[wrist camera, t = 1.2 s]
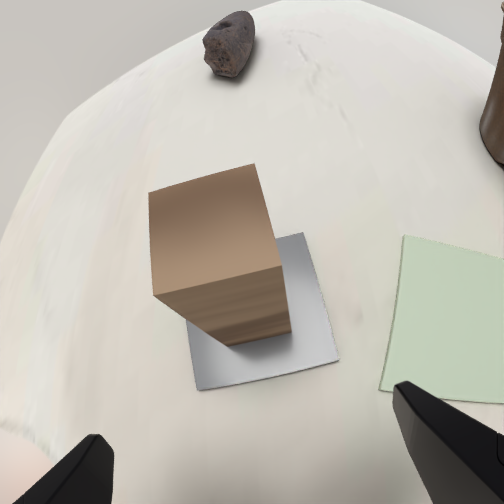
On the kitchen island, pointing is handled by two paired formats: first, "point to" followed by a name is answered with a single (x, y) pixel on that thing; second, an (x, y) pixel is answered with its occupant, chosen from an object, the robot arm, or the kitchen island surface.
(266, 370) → the plate
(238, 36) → the perforated stone tool
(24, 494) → the robot arm
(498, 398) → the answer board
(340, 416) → the kitchen island surface
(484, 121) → the plant pot
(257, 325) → the walnut post
